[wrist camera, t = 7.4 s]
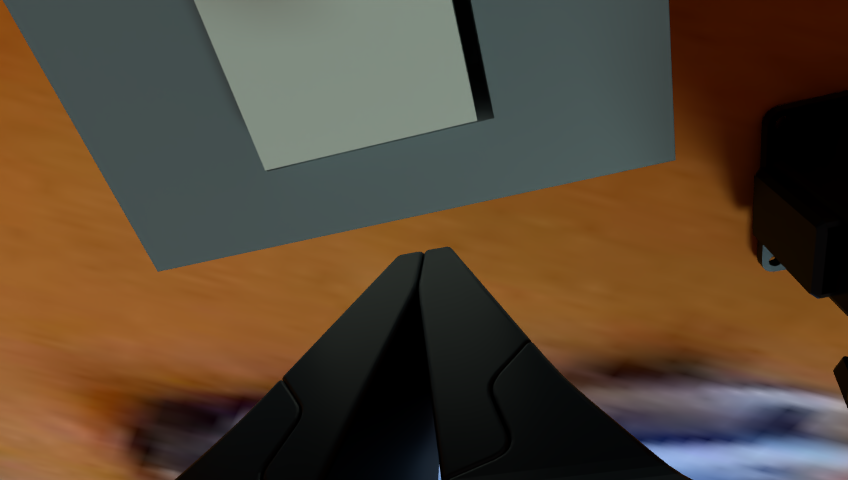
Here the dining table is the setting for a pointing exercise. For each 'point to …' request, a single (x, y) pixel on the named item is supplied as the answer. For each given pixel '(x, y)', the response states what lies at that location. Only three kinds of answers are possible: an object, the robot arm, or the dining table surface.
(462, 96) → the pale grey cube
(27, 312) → the dining table surface
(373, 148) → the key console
